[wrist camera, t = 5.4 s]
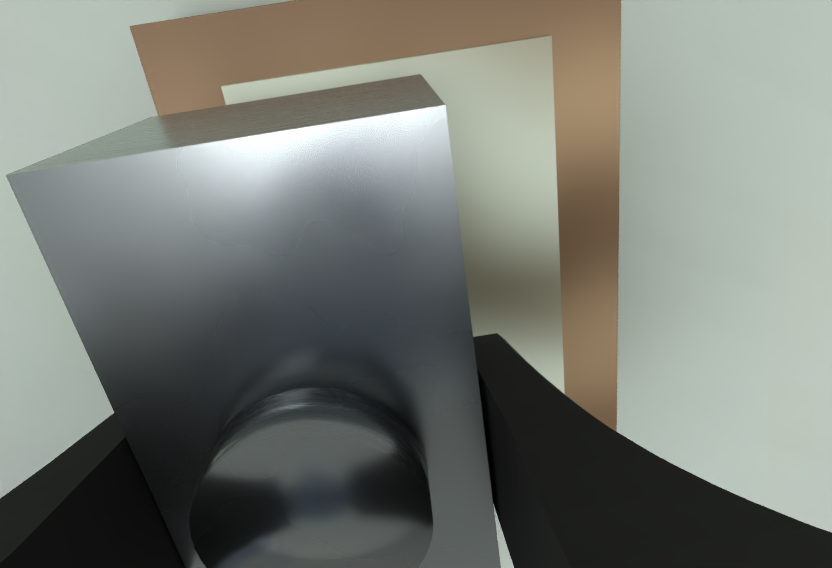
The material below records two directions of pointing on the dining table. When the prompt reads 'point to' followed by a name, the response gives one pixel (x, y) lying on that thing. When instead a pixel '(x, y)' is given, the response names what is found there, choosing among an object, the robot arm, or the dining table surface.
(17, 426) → the dining table surface
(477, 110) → the stand
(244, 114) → the block
